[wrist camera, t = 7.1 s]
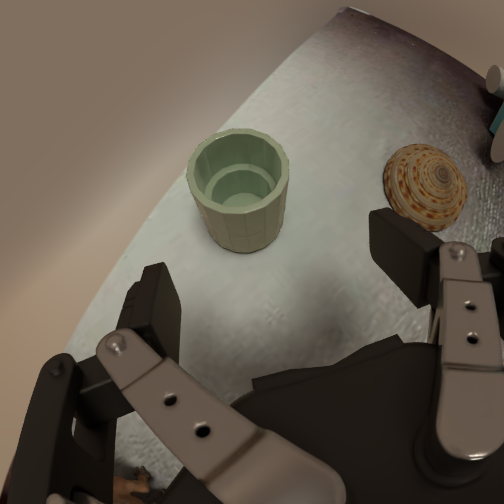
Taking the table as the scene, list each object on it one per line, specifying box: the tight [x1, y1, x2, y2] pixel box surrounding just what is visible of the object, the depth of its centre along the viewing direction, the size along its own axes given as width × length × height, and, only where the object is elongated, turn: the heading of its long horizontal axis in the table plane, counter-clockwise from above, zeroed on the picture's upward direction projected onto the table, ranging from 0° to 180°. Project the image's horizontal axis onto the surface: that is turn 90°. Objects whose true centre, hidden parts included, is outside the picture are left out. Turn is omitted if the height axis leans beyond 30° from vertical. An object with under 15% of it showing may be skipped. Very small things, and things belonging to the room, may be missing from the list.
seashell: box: [384, 144, 468, 231], centre depth 24 cm, size 8×6×8 cm
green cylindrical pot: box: [186, 129, 289, 252], centre depth 21 cm, size 6×6×8 cm
